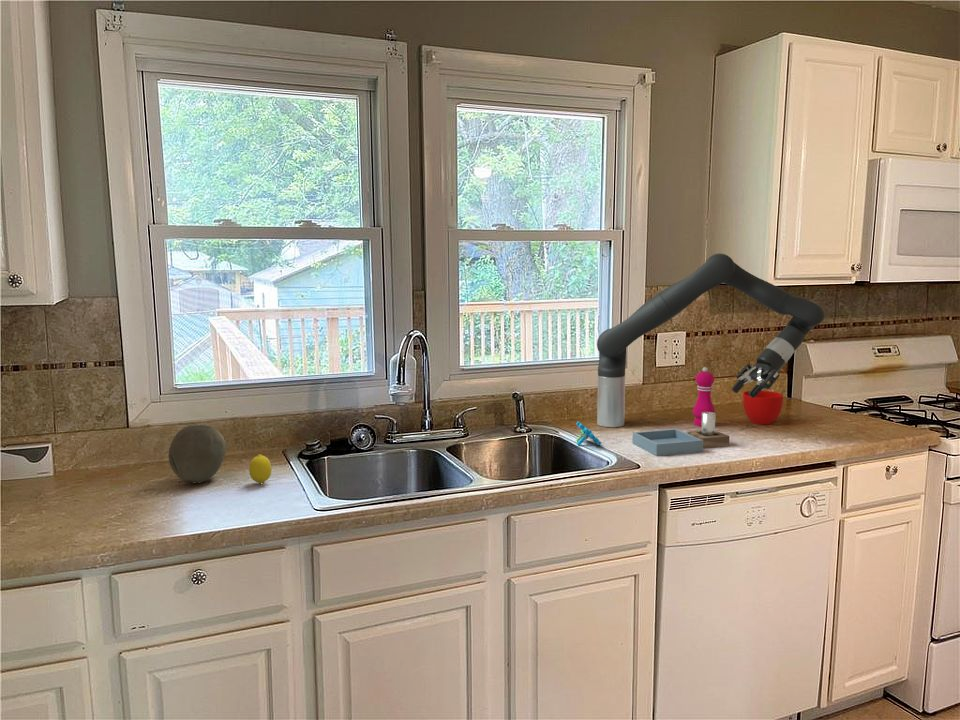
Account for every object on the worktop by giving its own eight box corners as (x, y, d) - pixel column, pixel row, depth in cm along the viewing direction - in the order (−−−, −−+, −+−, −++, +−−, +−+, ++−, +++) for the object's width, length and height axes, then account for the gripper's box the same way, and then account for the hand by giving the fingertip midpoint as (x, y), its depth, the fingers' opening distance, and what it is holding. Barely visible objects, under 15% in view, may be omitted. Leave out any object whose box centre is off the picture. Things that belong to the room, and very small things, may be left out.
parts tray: (632, 443, 220) (632, 432, 220) (675, 439, 224) (676, 428, 224) (656, 456, 206) (656, 444, 205) (702, 451, 210) (702, 440, 209)
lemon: (252, 481, 188) (251, 452, 187) (274, 480, 188) (272, 451, 187) (247, 487, 182) (246, 457, 181) (269, 487, 183) (268, 457, 182)
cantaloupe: (223, 486, 183) (220, 430, 181) (165, 491, 181) (161, 434, 178) (231, 471, 197) (227, 418, 195) (176, 475, 194) (172, 421, 192)
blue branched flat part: (606, 443, 214) (582, 421, 213) (592, 458, 214) (569, 435, 213) (597, 439, 225) (575, 418, 224) (585, 453, 225) (562, 431, 224)
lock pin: (698, 442, 221) (699, 412, 219) (709, 441, 222) (710, 411, 220) (705, 445, 217) (706, 415, 215) (717, 444, 218) (718, 414, 216)
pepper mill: (691, 426, 241) (693, 368, 239) (693, 421, 248) (695, 365, 245) (713, 427, 239) (715, 369, 236) (715, 423, 245) (717, 366, 243)
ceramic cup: (784, 418, 251) (786, 390, 250) (779, 428, 237) (781, 399, 235) (746, 414, 258) (747, 387, 256) (739, 424, 243) (740, 395, 241)
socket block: (686, 440, 222) (687, 431, 222) (712, 438, 225) (712, 429, 224) (703, 448, 214) (703, 438, 213) (729, 445, 216) (729, 436, 216)
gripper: (754, 344, 227) (721, 382, 226) (783, 350, 213) (749, 389, 212) (767, 360, 229) (735, 397, 228) (797, 366, 216) (763, 406, 214)
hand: (742, 393), depth 220 cm, fingers open, 8 cm apart
